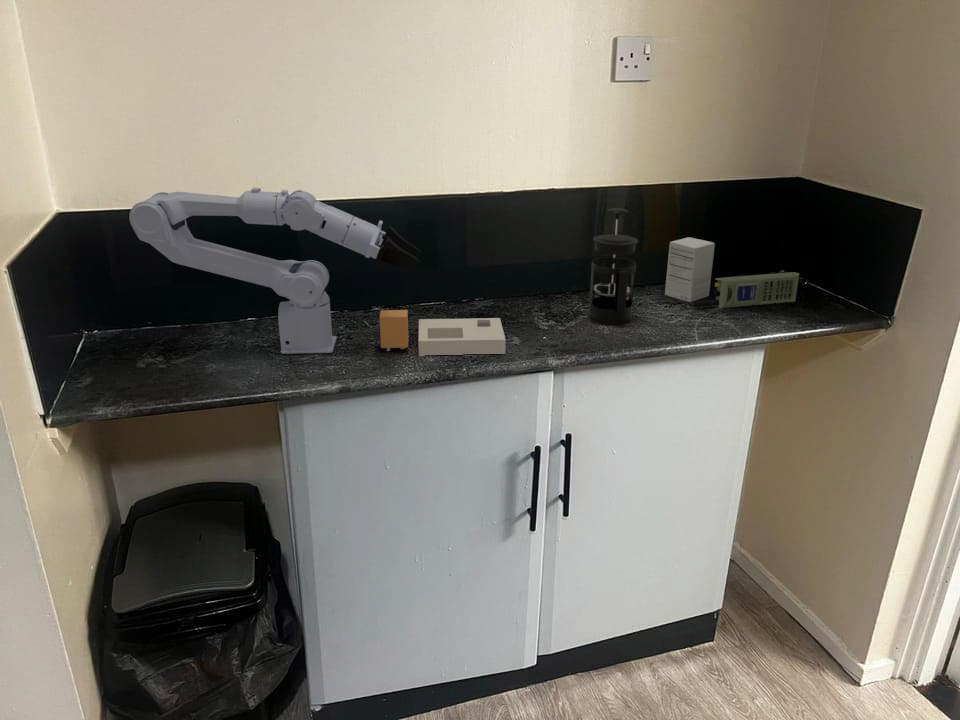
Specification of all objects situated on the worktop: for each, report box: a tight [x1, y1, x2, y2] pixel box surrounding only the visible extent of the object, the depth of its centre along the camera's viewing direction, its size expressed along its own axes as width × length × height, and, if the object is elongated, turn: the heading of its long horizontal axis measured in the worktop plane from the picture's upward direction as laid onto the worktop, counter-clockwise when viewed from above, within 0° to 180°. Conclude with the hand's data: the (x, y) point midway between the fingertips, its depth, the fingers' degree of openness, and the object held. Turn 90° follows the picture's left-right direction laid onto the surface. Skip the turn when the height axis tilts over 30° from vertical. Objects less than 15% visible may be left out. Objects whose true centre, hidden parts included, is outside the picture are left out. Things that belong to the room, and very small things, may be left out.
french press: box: [587, 207, 639, 326], centre depth 158 cm, size 12×9×23 cm
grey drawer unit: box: [664, 236, 716, 303], centre depth 175 cm, size 7×7×13 cm
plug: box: [379, 309, 409, 352], centre depth 145 cm, size 5×4×7 cm
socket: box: [418, 317, 507, 357], centre depth 148 cm, size 16×12×4 cm
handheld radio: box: [693, 271, 800, 309], centre depth 171 cm, size 7×3×25 cm
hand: (418, 261), depth 141 cm, fingers open, 7 cm apart
